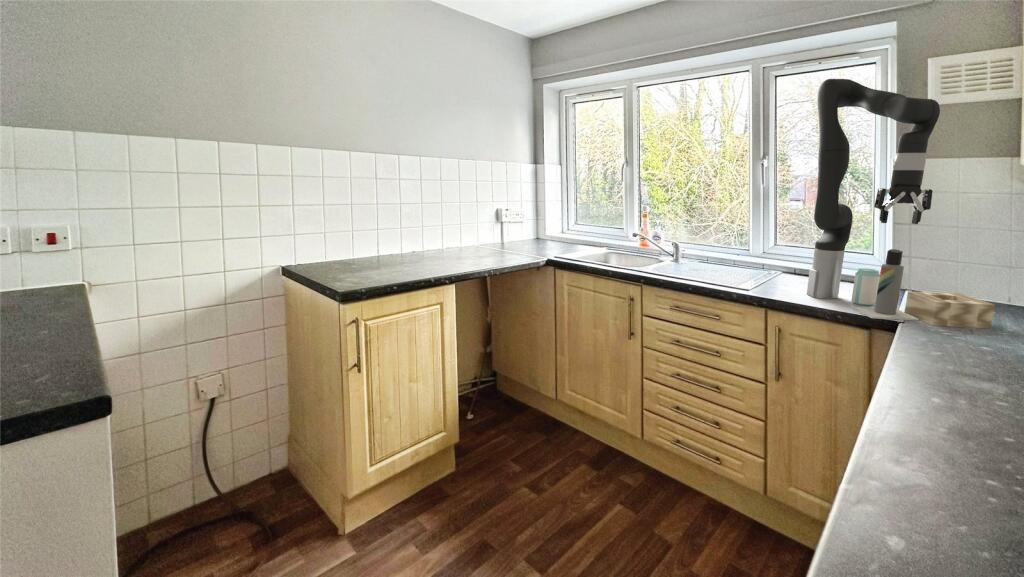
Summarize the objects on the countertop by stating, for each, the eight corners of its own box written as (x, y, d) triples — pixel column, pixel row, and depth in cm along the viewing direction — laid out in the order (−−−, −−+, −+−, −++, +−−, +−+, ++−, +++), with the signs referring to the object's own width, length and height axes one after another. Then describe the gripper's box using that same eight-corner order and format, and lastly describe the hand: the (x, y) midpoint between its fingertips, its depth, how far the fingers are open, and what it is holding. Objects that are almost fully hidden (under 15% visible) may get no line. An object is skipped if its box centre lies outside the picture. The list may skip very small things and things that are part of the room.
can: (861, 301, 184) (866, 267, 182) (880, 305, 178) (886, 270, 175) (846, 302, 182) (851, 268, 180) (865, 307, 175) (870, 271, 173)
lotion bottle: (892, 311, 168) (902, 249, 164) (898, 315, 163) (909, 251, 159) (871, 309, 170) (881, 248, 166) (877, 313, 165) (887, 250, 160)
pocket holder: (932, 325, 154) (936, 302, 153) (904, 312, 168) (907, 291, 167) (990, 328, 151) (995, 304, 150) (956, 315, 166) (961, 293, 164)
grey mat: (871, 318, 161) (871, 316, 161) (852, 308, 174) (852, 306, 174) (918, 320, 159) (919, 319, 159) (895, 310, 172) (896, 308, 171)
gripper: (888, 168, 154) (879, 223, 158) (942, 169, 152) (932, 225, 155) (876, 168, 162) (867, 221, 165) (927, 169, 159) (918, 223, 163)
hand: (899, 223), depth 160 cm, fingers open, 8 cm apart
